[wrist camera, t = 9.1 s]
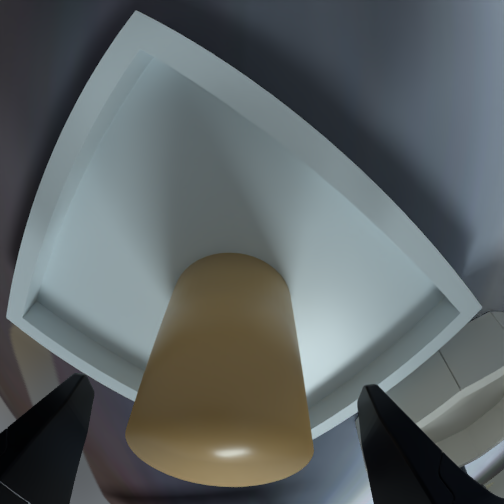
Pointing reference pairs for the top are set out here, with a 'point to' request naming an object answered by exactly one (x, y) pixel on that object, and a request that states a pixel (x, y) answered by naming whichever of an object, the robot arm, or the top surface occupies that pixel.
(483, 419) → the ceramic dish
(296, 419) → the tan rounded cylinder
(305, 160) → the grey tray
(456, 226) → the top surface
